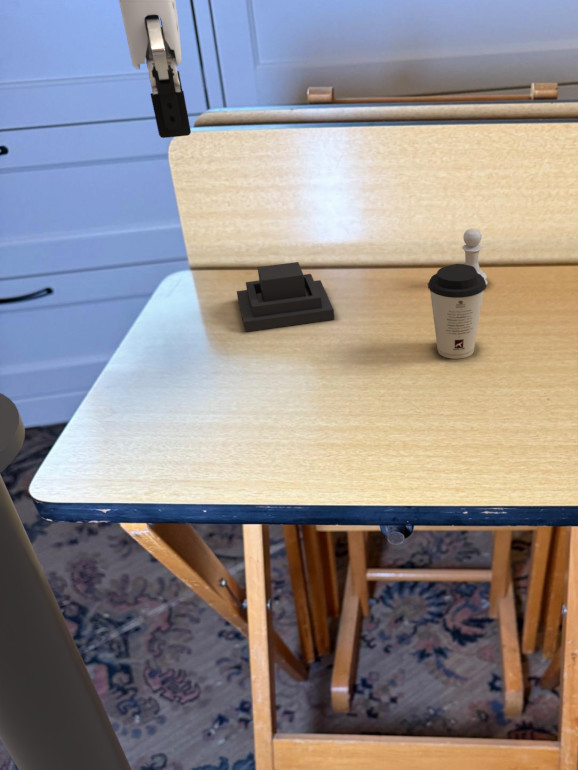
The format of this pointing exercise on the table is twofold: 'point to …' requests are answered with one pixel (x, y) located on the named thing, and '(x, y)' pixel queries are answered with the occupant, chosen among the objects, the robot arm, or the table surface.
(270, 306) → the base pad
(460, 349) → the coffee cup
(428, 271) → the table surface
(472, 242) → the chess piece
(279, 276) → the black block
